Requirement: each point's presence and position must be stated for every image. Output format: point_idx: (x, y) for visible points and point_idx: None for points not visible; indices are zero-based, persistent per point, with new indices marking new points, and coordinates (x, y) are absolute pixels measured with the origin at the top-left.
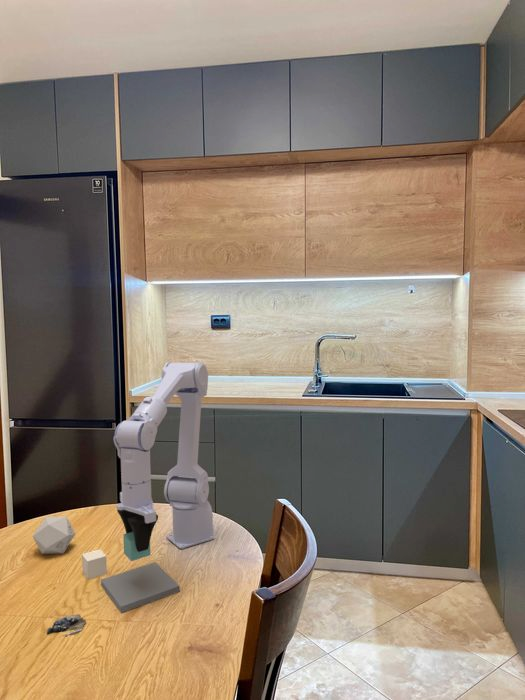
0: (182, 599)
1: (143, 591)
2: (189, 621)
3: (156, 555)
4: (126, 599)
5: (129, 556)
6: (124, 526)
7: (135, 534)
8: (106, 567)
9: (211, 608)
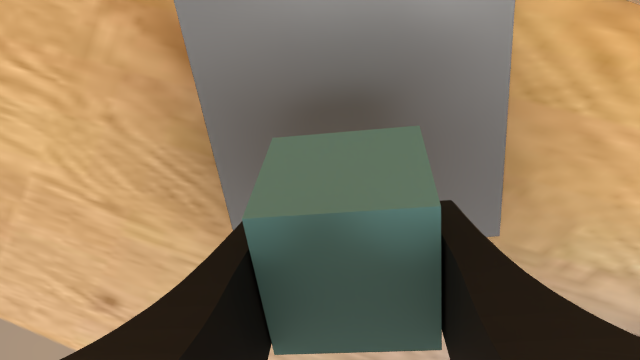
0: (185, 226)
1: (261, 117)
2: (36, 200)
3: (599, 254)
4: (224, 26)
5: (298, 145)
6: (514, 265)
7: (155, 303)
8: (636, 3)
9: (93, 280)
